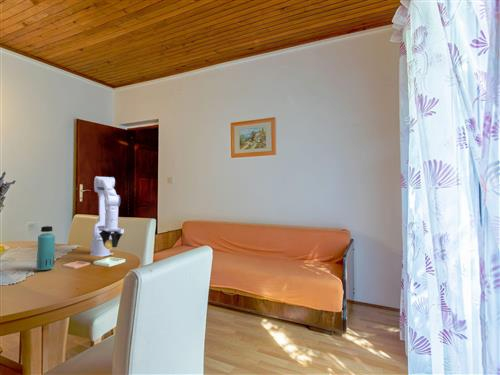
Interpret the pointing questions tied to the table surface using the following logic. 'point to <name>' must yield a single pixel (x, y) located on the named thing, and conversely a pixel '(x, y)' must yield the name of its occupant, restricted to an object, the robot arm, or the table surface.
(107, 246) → the ball
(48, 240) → the beverage bottle
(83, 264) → the dish
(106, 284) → the table surface
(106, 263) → the tray
